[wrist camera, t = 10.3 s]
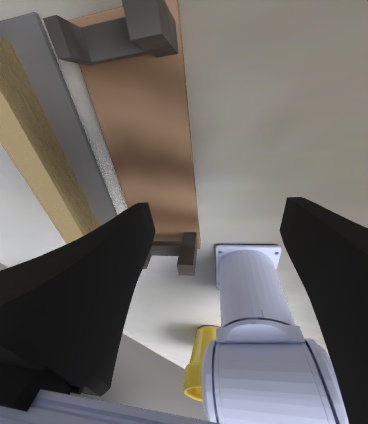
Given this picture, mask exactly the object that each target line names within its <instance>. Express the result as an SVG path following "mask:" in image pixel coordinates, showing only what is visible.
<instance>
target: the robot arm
mask: <svg viewBox="0 0 368 424" xmlns="http://www.w3.org/2000/svg"><path fill="white" fill-rule="evenodd" d="M155 231H156V230H155V226H154V222H153V219H152V215H151V211H150V207H149V204H148V202H145V203H137V204H135V205H133V206H131V207H130V208H128V209H126V210H125V211H123V212H122V213H120V214H119V215H117V216H116V217H114V218H113V219H111V220H110V221H108V222H106V223H105V224H103V225H101V226H100V227H98V228H96V229H95V230H93V231H91V232H90V233H88V234H86V235H84V236H82V237H81V238H79V239H77V240H75V241H73V242H71V243H69V244H67V245H64V246H62V247H60V248H58V249H55V250H53V251H51V252H48V253H46V254H44V255H42V256H39V257H37V258H34V259H32V260H29V261H26V262H24V263H21V264H18V265H15V266H13V267H10V268H7V269H4V270H1V271H0V424H368V228H366V227H363V226H361V225H359V224H357V223H355V222H352V221H350V220H348V219H346V218H344V217H342V216H340V215H338V214H336V213H334V212H332V211H330V210H328V209H326V208H324V207H322V206H320V205H318V204H316V203H314V202H312V201H309V200H307V199H305V198H302V197H290V198H287V201H286V205H285V210H284V214H283V218H282V223H281V227H280V233H281V236H282V239H283V242H284V245H285V248H286V250H287V252H288V254H289V257H290V259H291V261H292V263H293V265H294V267H295V269H296V271H297V273H298V275H299V277H300V279H301V281H302V283H303V285H304V287H305V289H306V291H307V294H308V296H309V298H310V301H311V304H312V306H313V309H314V312H315V314H316V317H317V320H318V323H319V326H320V329H321V331H322V334H323V337H324V340H325V343H326V346H327V349H328V353H329V356H330V358H329V356H328V354H327V353H326V351H325V350H324V349H323V348H322V347H321V346H320V345H318V344H317V343H316V342H315V341H314V340H313V339H305V340H304V337H303V334H302V332H301V329H300V327H299V326H296V325H295V322H294V319H293V317H292V314H291V311H290V308H289V305H288V303H287V300H286V297H285V294H284V291H283V289H282V286H281V283H280V280H279V278H278V275H277V272H276V269H277V266H278V262H279V258H280V254H281V247H280V246H277V245H217V246H216V281H217V289H218V290H220V311H221V328H217V329H216V340H211V341H210V342H209V344H208V346H207V348H206V350H205V352H204V356H203V362H202V398H203V406H204V412H205V416H206V419H207V421H205V420H200V419H194V418H189V417H184V416H179V415H173V414H168V413H163V412H158V411H152V410H147V409H142V408H137V407H131V406H126V405H121V404H115V403H110V402H105V401H99V400H94V399H88V398H84V397H78V396H73V395H70V393H76V394H81V393H84V394H90V395H95V396H102V395H103V394H105V393H106V392H107V391H108V390H109V389H110V386H111V381H112V376H113V371H114V367H115V362H116V358H117V353H118V348H119V344H120V340H121V336H122V332H123V328H124V324H125V320H126V317H127V313H128V309H129V306H130V302H131V299H132V296H133V292H134V289H135V286H136V283H137V281H138V278H139V276H140V273H141V271H142V269H143V266H144V264H145V261H146V259H147V257H148V254H149V252H150V249H151V247H152V243H153V240H154V236H155ZM219 251H220V252H219Z"/></svg>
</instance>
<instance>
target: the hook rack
mask: <svg viewBox="0 0 368 424" xmlns="http://www.w3.org/2000/svg"><path fill="white" fill-rule="evenodd" d="M122 3H123V7H120V8H116V9H112V10H108V11H104V12H100V13H96V14H92V15H88V16H84V17H80V18H76V19H72V20H68V21H67V20H65V19H63V18H61V17H59V16H57V15H54V16H51V17H47V18H43V20H44V23H45V25H46V28H47V30H48V33H49V35H50V38H51V41H52V43H53V46H54V48H55V51H56V54H57V56H58V59H60V60H65V61H69V62H74V63H78V64H79V65H80V68H81V71H82V74H83V77H84V80H85V83H86V86H87V89H88V92H89V94H90V97H91V100H92V103H93V106H94V109H95V112H96V115H97V118H98V121H99V124H100V127H101V130H102V132H103V135H104V138H105V141H106V144H107V147H108V150H109V153H110V156H111V159H112V162H113V165H114V167H115V170H116V173H117V176H118V179H119V182H120V185H121V188H122V191H123V194H124V197H125V200H126V202H127V205H128V208H130V207H131V206H133V205H135V204H137V203H145V202H148V204H149V207H150V211H151V215H152V219H153V222H154V226H155V230H156V231H155V236H154V240H153V243H152V247H151V249H150V252H149V254H148V257H147V259H146V261H145V264H144V266H143V269H147V266H148V264H149V261H150V258H151V256H152V255H157V256H179V257H178V262H177V268H178V272H179V275H192V276H194V273H195V263H196V254H197V249H200V233H199V222H198V211H197V200H196V189H195V178H194V167H193V156H192V145H191V134H190V123H189V112H188V101H187V90H186V79H185V68H184V57H183V46H182V35H181V24H180V13H179V2H178V0H122Z"/></svg>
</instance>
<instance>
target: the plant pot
mask: <svg viewBox="0 0 368 424" xmlns="http://www.w3.org/2000/svg"><path fill="white" fill-rule="evenodd" d="M217 328H220V327H217V326H203V327H200V328H199V329H198V330H197V333H196V338H195V342H194V346H193V350H192V355H191V359H190V363H189V364H188V365H187V366H186V369H185V376H184V389H183V390H184V393H185V394H186V395H187V396H189V397H191V398H193V399H195V400H199V401H202V402H203V398H202V362H203V356H204V352H205V350H206V348H207V346H208V344H209V342H210V341H211V340H216V329H217Z"/></svg>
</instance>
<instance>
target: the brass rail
mask: <svg viewBox="0 0 368 424" xmlns="http://www.w3.org/2000/svg"><path fill="white" fill-rule="evenodd" d="M0 143H1V144H2V146H3V147H4V149H5V150H6V152H7V153H8V155H9V156H10V158H11V159H12V161H13V163H14V164H15V166H16V167H17V169H18V170H19V172H20V173H21V175H22V176H23V178H24V179H25V181H26V182H27V184H28V185H29V187H30V188H31V190H32V192H33V193H34V195H35V196H36V198H37V199H38V201H39V202H40V204H41V205H42V207H43V208H44V210H45V211H46V213H47V214H48V216H49V217H50V219H51V221H52V222H53V224H54V225H55V227H56V228H57V230H58V231H59V233H60V234H61V236H62V237H63V239H64V240H65V242H66V243H67V244H69V243H71V242H73V241H75V240H77V239H79V238H81V237H82V236H84V235H86V234H88V233H90V232H91V231H93V230H95V229H96V228H98V227H100V226H99V224H98V222H97V220H96V218H95V216H94V214H93V212H92V210H91V208H90V206H89V204H88V201H87V199H86V197H85V195H84V193H83V191H82V189H81V187H80V185H79V183H78V181H77V179H76V177H75V174H74V172H73V170H72V168H71V166H70V164H69V162H68V160H67V158H66V156H65V154H64V152H63V150H62V148H61V145H60V143H59V141H58V139H57V137H56V135H55V133H54V131H53V129H52V127H51V125H50V123H49V121H48V118H47V116H46V114H45V112H44V110H43V108H42V106H41V104H40V102H39V100H38V98H37V96H36V94H35V92H34V89H33V87H32V85H31V83H30V81H29V79H28V77H27V75H26V73H25V71H24V69H23V67H22V65H21V62H20V60H19V58H18V56H17V54H16V52H15V50H14V48H13V46H12V44H11V42H10V40H8V39H4V38H0Z"/></svg>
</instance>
